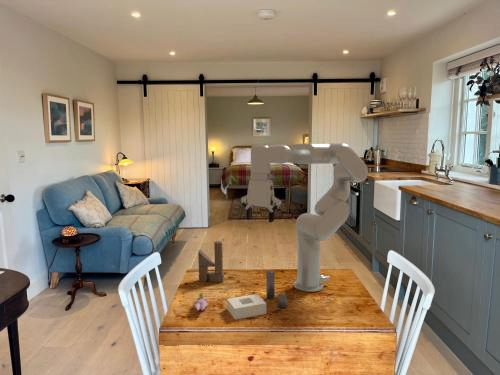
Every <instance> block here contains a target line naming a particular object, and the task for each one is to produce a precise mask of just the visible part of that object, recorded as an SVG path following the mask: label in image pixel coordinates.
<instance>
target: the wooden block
mask: <svg viewBox="0 0 500 375" xmlns="http://www.w3.org/2000/svg"><path fill="white" fill-rule="evenodd" d="M213 246H214V247H213V249H214V261H213V260H212V259H211V257H209V256H208V255H207V254H206V253H205V252H204V251H203V250H202V249H201V248H200V249H199V250H198V252H197V253H198V282H199V283H207V282H210V283H223V282H224V280H225V274H224V273H225V272H224V269H223V268H224V267H223V266H224V265H223V264H224V263H223V258H224V257H223V242H222V241H221V240H219V241H218V240H217V241H214V245H213ZM209 267H211V268H214V271H209Z"/></svg>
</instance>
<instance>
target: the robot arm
mask: <svg viewBox="0 0 500 375" xmlns="http://www.w3.org/2000/svg"><path fill="white" fill-rule="evenodd" d="M286 163H289V164H291V163H292V164H298V165H319V164H320V165H323V164H325V165H327V164H333V165H335V166H334V167H333V183H332V186H331V187H330V188H329V189H328V190H327V192H326V193H325V194H323V195H322V196H321V197H320V198H319V199H318V200H317V202H316V203H315V205H314V213H315V214H313V213H309V212H308V213H307V212H306V213H301V214H300V215H299V216H298V217H297V218H296V221H295V232H296V238H297V266H296V267H297V270H296V271H297V275H296V276H297V279H296V280H295V281H294V282H293V287H294V289H296V290H299V291H301V292H309V293H311V292H312V293H314V292H319V291H321V290H323V288H324V282H325V281H327V282H328V281H330V280H331V277H330V275H325V276H324V274H321V242H326V241H327V240H329V239H330V238H331V237H332V236H333V235H335V233H336V232H337V230H339V229H340V228H341V226H342V225H344V223H345V222H346V221H347V220H348V218H349V216H350V210H351V209H350V205H349V204H348V203H347V200H348V199H349V198H350V194H351V183H362V182H364V181H366V179H367V178H368V175H369V169H368V167H367V165H366V163H365V162H364V161H363V159H361V157H360V156H359V154H358V153H356V152H355V150H354V149H353V148H352V147H351V146H349V145H348V144H347V143H334V142H333V143H330V142H329V143H324V142H323V143H320V142H319V143H313V142H311V143H310V142H309V143H308V142H307V143H306V142H305V143H295V144H293V143H291V144H267V145H266V144H265V145H263V144H255V145H252V146H251V147H250V180H249V182H248V187H247V194H246V195H244V196H241V198H240V201H241V203H242V206H243V207H244V209H245V211H246V212H245V213H246V214H245V215H246V220H247V221H250V220H253V209H252V208H253V207H261V208H262V207H264V208H267V209H268V210H269V212H268V223H273V222H274V221H275V219H276V218H275V217H276V216H275V215H276V214H275V212H276V211H277V209H279V208H280V206H281V203H282V200H280V199H279V198H277V197H276V196H275V190H274V183H273V180H271V179H273V178H274V174H271V173H272V172H271V164H275V165H276V164H277V165H283V164H286Z"/></svg>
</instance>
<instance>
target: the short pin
mask: <svg viewBox="0 0 500 375" xmlns="http://www.w3.org/2000/svg"><path fill="white" fill-rule="evenodd" d="M277 296H278V297H277V298H278V302H277V303H278V305H277V308H279V309H281V310H284V309H287V307H288V295H287V294H286V293H280V294H278V295H277Z"/></svg>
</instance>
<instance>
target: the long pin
mask: <svg viewBox="0 0 500 375" xmlns="http://www.w3.org/2000/svg"><path fill="white" fill-rule="evenodd" d="M265 278H266V281H265V282H266V283H265V284H266V286H265V287H266V300H269V301H272V300H275V293H276V292H275V289H276V288H275V284H276V283H275V282H276V281H275V270H273V269H268V270H266V276H265Z"/></svg>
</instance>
